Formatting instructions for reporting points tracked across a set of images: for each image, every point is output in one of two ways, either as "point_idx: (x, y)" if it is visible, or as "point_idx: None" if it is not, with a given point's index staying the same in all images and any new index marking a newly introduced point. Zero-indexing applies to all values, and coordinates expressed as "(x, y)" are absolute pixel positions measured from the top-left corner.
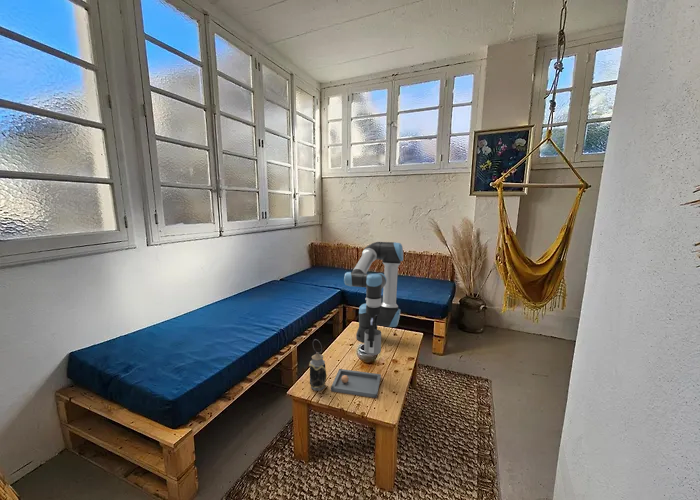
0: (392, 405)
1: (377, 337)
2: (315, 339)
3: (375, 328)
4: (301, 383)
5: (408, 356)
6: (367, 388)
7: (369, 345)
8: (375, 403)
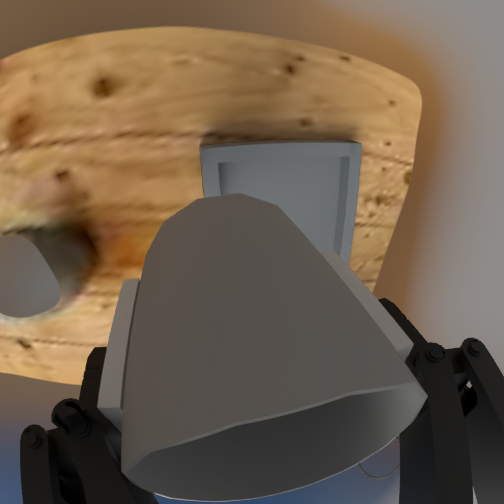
0: (367, 79)
1: (398, 357)
2: (382, 478)
3: (135, 492)
4: None
5: None
6: (302, 189)
7: None
8: (369, 142)
